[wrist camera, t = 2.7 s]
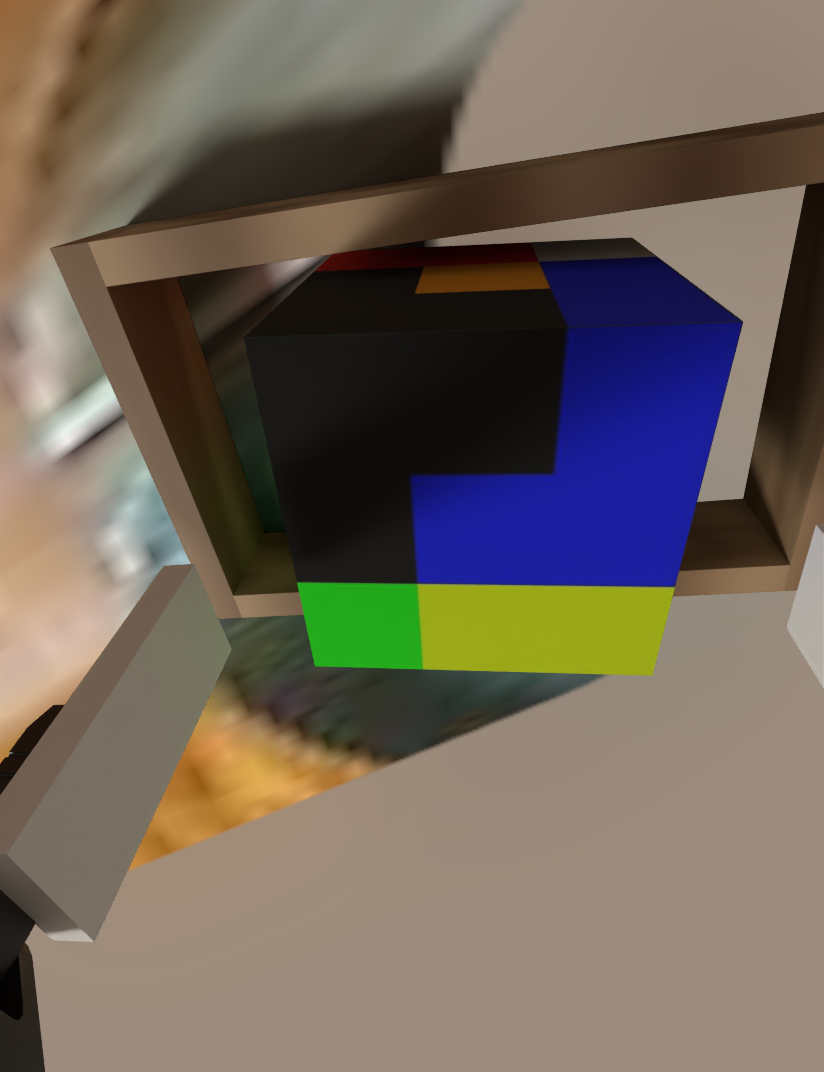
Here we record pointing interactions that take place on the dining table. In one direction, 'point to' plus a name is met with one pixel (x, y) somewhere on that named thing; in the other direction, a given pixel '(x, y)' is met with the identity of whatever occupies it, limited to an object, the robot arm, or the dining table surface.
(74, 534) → the dining table surface
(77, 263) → the pocket frame
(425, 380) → the puzzle toy
